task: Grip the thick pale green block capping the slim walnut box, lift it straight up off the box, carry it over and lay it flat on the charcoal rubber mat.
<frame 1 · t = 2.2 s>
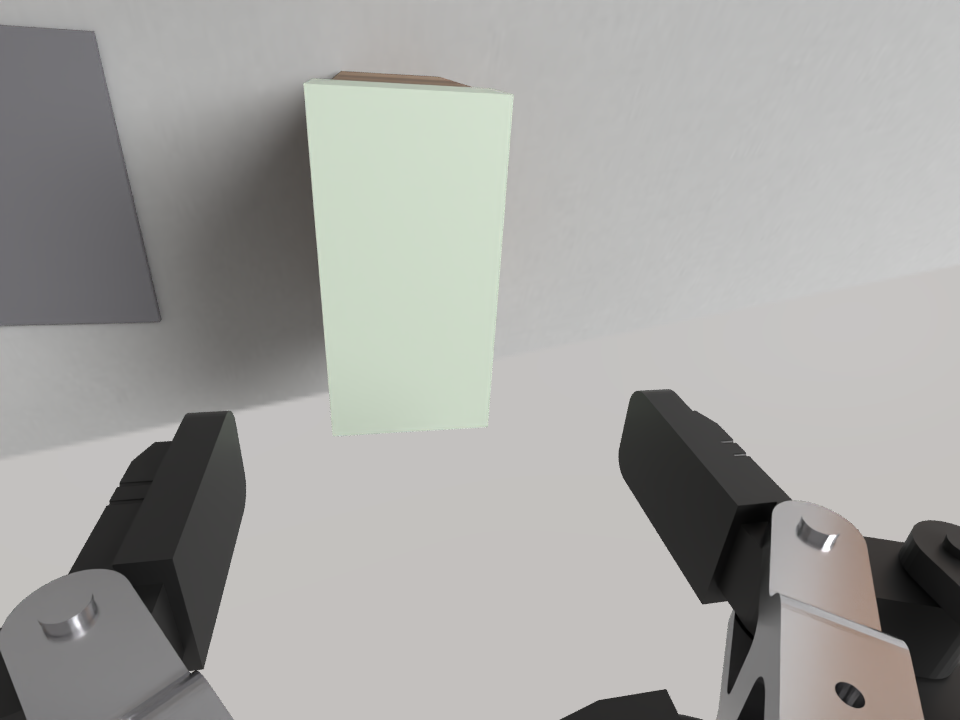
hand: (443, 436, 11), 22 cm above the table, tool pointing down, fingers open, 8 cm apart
pale green block: (405, 254, 22), point 10 cm above the table, touching box
box: (392, 197, 30), on the table
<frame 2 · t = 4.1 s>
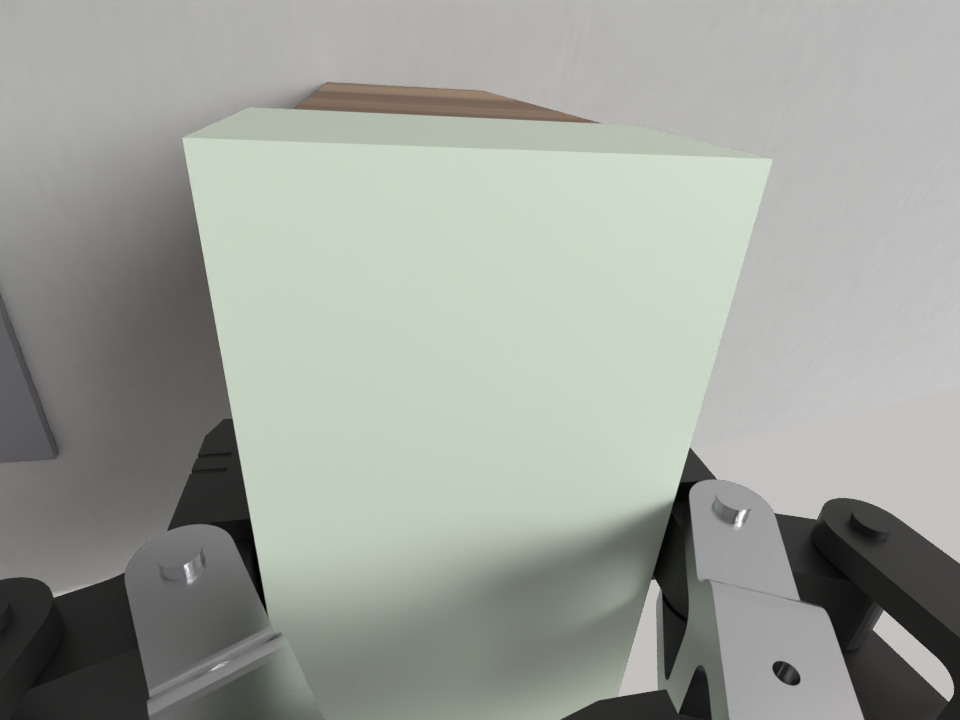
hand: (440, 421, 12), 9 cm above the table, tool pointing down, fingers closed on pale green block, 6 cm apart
pale green block: (444, 435, 11), point 10 cm above the table, touching box, gripper
box: (408, 272, 20), on the table
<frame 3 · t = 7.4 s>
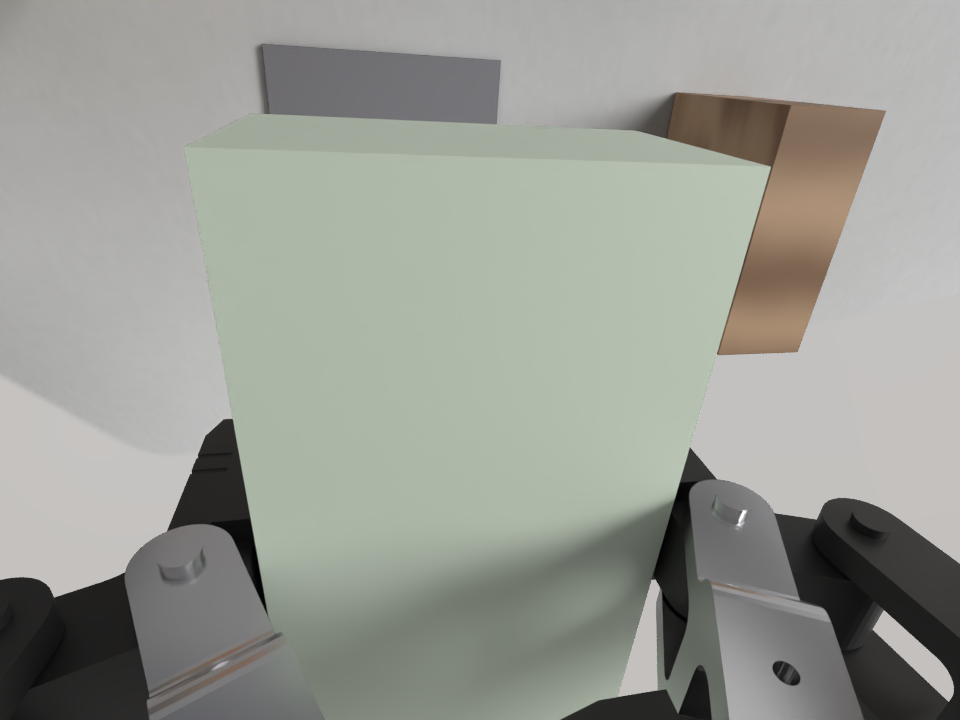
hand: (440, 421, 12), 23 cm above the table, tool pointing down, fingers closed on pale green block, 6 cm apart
mat: (388, 191, 32), on the table
pale green block: (444, 439, 11), point 24 cm above the table, touching gripper
box: (689, 198, 36), on the table
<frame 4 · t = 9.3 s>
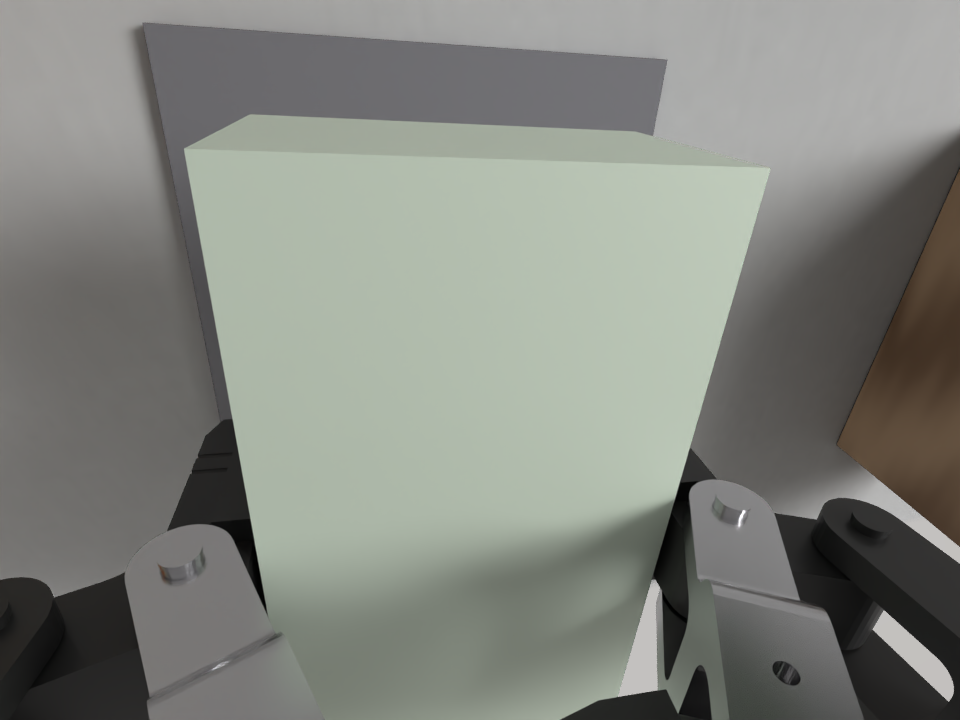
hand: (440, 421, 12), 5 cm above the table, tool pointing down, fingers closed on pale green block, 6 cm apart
mat: (423, 316, 16), on the table
pale green block: (444, 439, 11), point 6 cm above the table, touching gripper
box: (954, 305, 20), on the table
when the fingers open (2 cm above the table, at t = 10.8 s): pale green block drops 2 cm, resting on mat.
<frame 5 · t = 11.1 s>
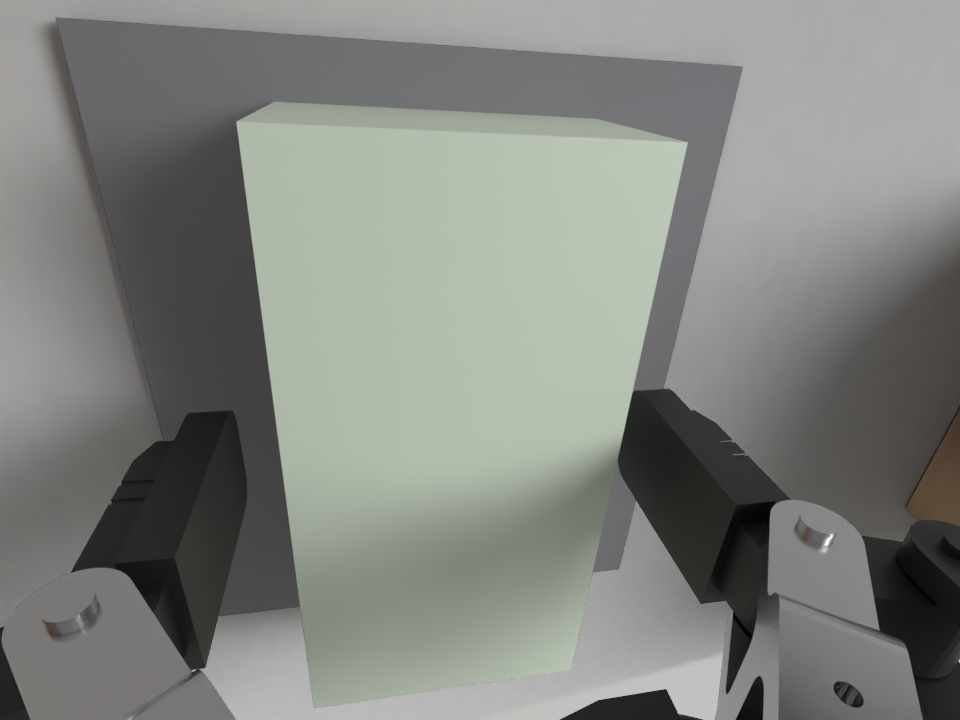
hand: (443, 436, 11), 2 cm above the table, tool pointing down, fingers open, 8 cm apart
mat: (431, 380, 13), on the table
pale green block: (436, 388, 13), resting on mat
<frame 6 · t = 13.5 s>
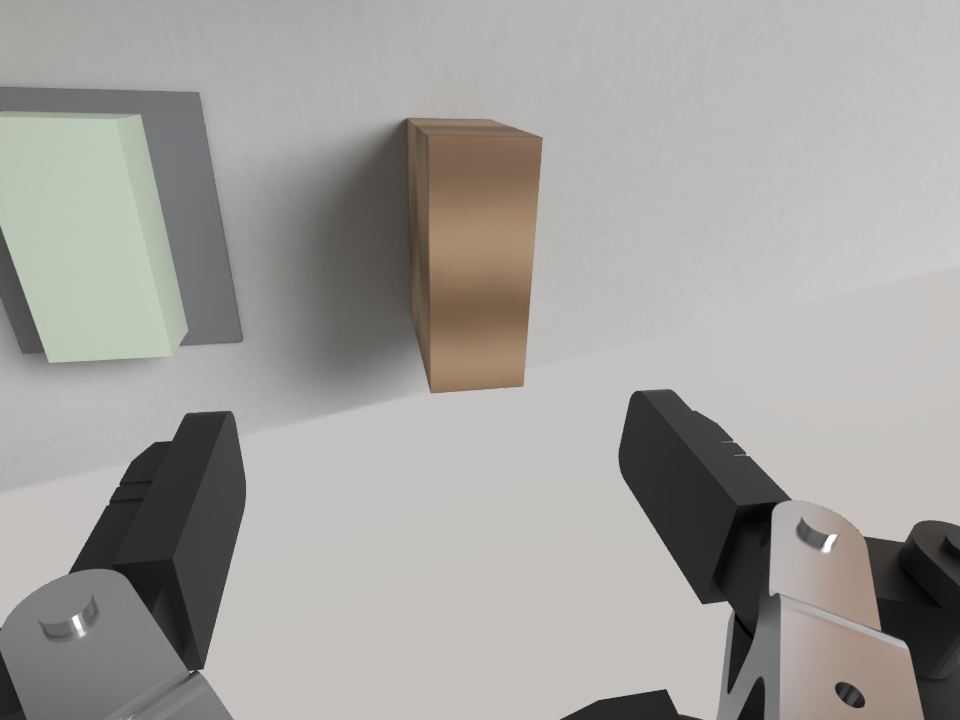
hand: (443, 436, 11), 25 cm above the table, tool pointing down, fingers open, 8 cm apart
mat: (106, 230, 31), on the table
pale green block: (106, 232, 30), resting on mat
box: (448, 224, 34), on the table
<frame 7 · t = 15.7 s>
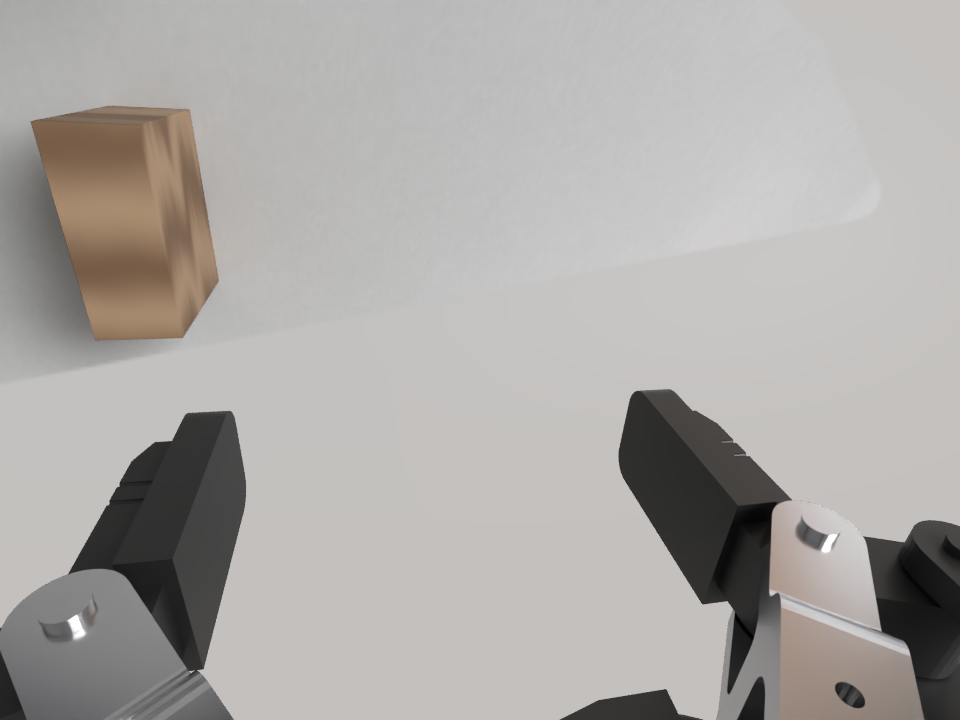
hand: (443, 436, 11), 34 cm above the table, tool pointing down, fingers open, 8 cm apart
box: (168, 200, 39), on the table
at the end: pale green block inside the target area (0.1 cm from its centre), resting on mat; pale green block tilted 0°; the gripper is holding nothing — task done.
